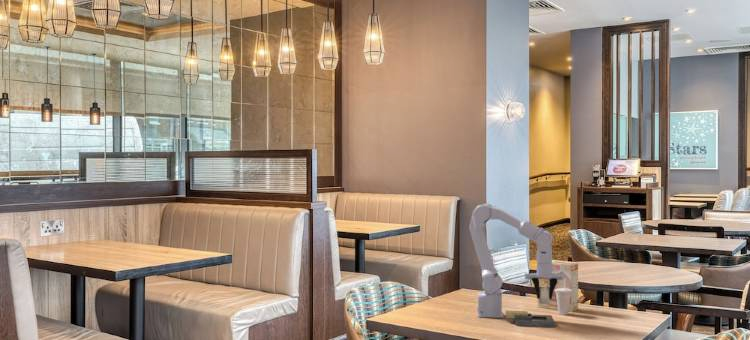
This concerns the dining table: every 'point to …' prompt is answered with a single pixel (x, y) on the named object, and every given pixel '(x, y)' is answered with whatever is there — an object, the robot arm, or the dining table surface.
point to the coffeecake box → (571, 283)
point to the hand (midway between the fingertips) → (544, 298)
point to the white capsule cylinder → (544, 295)
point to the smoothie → (563, 299)
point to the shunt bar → (515, 314)
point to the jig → (534, 320)
